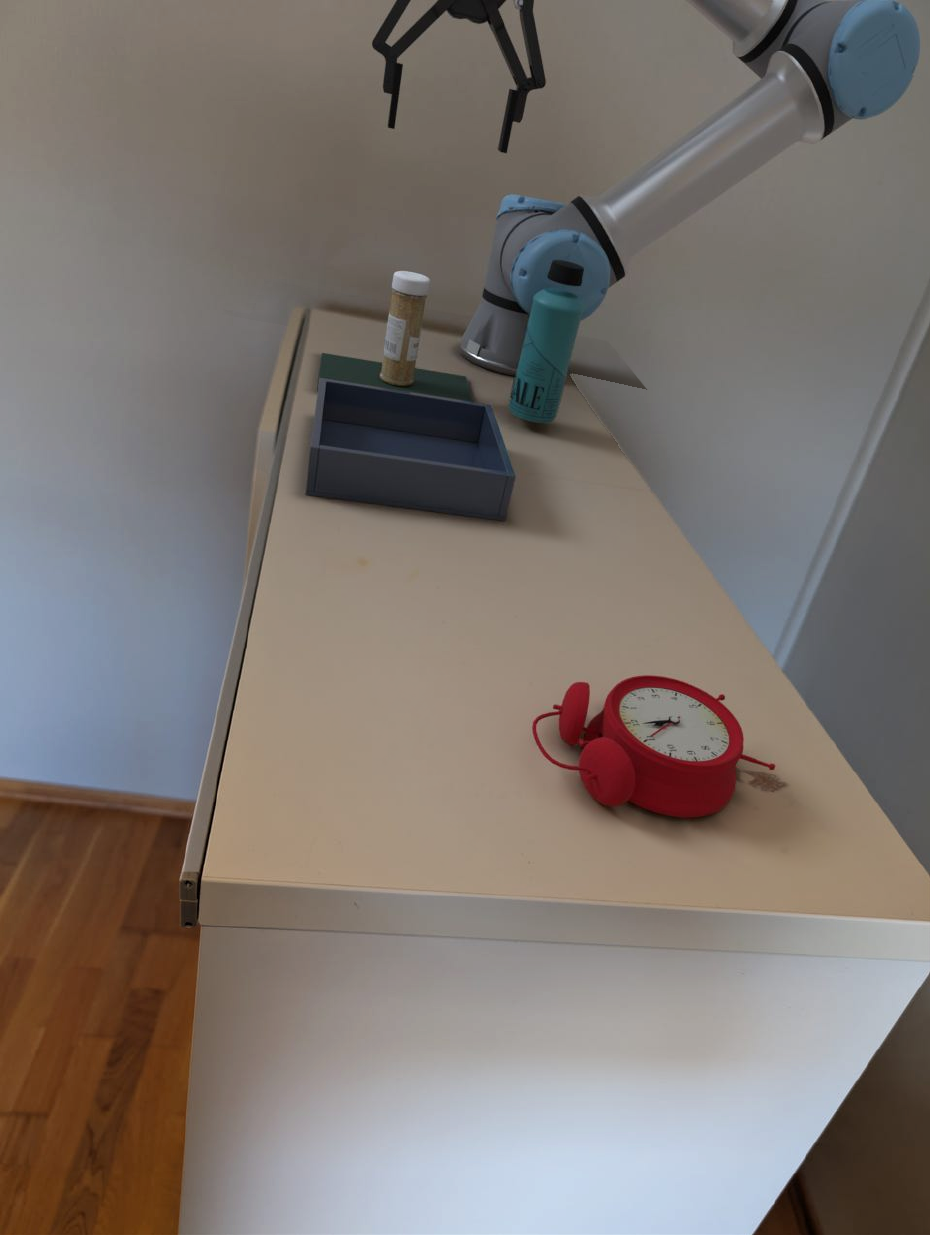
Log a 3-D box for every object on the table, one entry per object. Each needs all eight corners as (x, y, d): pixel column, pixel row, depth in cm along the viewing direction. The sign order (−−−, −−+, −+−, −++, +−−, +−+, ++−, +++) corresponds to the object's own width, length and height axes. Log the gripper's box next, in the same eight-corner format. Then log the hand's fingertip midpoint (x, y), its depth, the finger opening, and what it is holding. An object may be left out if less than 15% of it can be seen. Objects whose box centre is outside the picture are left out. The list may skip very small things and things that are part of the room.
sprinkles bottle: (418, 388, 112) (436, 281, 105) (385, 386, 110) (401, 278, 103) (405, 375, 115) (422, 271, 108) (373, 374, 113) (388, 267, 106)
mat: (465, 380, 121) (465, 376, 120) (475, 416, 109) (476, 412, 109) (321, 356, 117) (322, 352, 117) (316, 391, 105) (317, 387, 105)
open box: (482, 444, 102) (491, 404, 99) (505, 521, 85) (516, 476, 83) (315, 419, 98) (319, 377, 95) (305, 494, 82) (310, 446, 79)
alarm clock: (798, 776, 54) (602, 739, 48) (743, 844, 57) (552, 816, 51) (720, 674, 62) (546, 631, 56) (676, 738, 65) (505, 703, 59)
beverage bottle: (553, 421, 113) (595, 263, 103) (553, 439, 108) (597, 273, 97) (505, 410, 113) (542, 251, 103) (502, 427, 108) (540, 260, 97)
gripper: (367, -120, 86) (342, 119, 98) (602, -57, 91) (552, 165, 102) (366, -109, 93) (343, 114, 104) (586, -51, 97) (541, 157, 109)
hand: (447, 140), depth 103 cm, fingers open, 13 cm apart
